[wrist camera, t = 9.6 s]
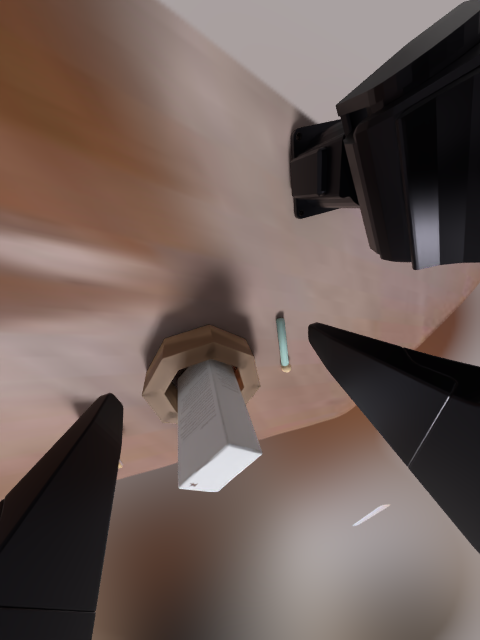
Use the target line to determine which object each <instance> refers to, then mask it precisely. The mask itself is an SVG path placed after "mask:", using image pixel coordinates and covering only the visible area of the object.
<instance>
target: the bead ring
mask: <svg viewBox="0 0 480 640" xmlns="http://www.w3.org/2000/svg"><path fill="white" fill-rule="evenodd" d="M210 359H213V360H216V361H219V362H222V363H226V364H229V365H232V366H235V367H237V369H236V370H235V372H234V373H235V376H236V379H237V382H238V385H239V388H240V391H241V393H242V396H243V399H244V402H245V405H246V404H247V403H248V401H249V400H250V399H251V397H252V396H253V395H254V394H255V392H256V391H257V390H258V389H259V387H260V382H259V377H258V373H257V368H256V364H255V359H254V356H253V354H252V352H251V350H250V348H249V346H248V344H247V342H246V340H245V339H244V338H241V337H239V336H237V335H234V334H232V333H229V332H227V331H224V330H222V329H219V328H217V327H214V326H212V325H206V326H203V327H200V328H196V329H193V330H190V331H187V332H184V333H181V334H178V335H175V336H171V337H168V338H165V339H164V341H163V343H162V344H161V346H160V348H159V350H158V352H157V354H156V356H155V357H154V359H153V361H152V363H151V365H150V367H149V369H148V370H147V372H146V377H145V382H144V387H143V393H142V396H143V397H144V399H145V400H146V401H147V403H148V404H149V405H150V407H151V408H152V409H153V411H154V412H155V413H156V415H157V416H158V417H159V419H160V420H161V421H162V422H163V423H171V424H178V389H176V387H175V386H174V384H173V382H172V380H173V378H174V376H175V375H176V373H177V371H178V370H180V369H183V368H186V367H189V366H192V365H195V364H198V363H201V362H204V361H207V360H210Z"/></svg>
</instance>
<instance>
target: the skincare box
mask: <svg viewBox="0 0 480 640" xmlns="http://www.w3.org/2000/svg"><path fill="white" fill-rule="evenodd" d="M261 455H262V450H261V448H260V445H259V442H258V439H257V436H256V433H255V430H254V428H253V425H252V422H251V419H250V416H249V413H248V411H247V408H246V405H245V402H244V399H243V396H242V393H241V391H240V388H239V385H238V382H237V379H236V376H235V373H234V371H233V368H232V365H229V364H226V363H222V362H219V361H216V360H213V359H210V360H207V361H204V362H201V363H198V364H195V365H192V366H189V367H188V368H187V369H186V370H185V371H184V372H183V374H182V375H181V376H180V377H179V378H178V487H179V488H180V489H188V490H199V491H208V492H218V491H219V490H220V489H221V488H223V487H224V486H225V485H226V484H227V483H228V482H229V481H231V480H232V479H233V478H234V477H235V476H236V475H237V474H239V473H240V472H241V471H242V470H244V469H245V468H246V467H247V466H249V465H250V464H251V463H252V462H253V461H254V460H255V459H257V458H258V457H259V456H261Z"/></svg>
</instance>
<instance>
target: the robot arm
mask: <svg viewBox="0 0 480 640" xmlns="http://www.w3.org/2000/svg"><path fill="white" fill-rule="evenodd" d="M336 109H337V113H338V116H340V117H341V119H340V120H335V121H330V122H325V123H321V124H316V125H311V126H307V127H302V128H298V129H296V130H295V131H294V132H293V133H292V135H291V151H292V161H291V163H290V166H291V185H292V196H293V197H294V213H295V217H296V218H298V219H302V218H306V217H310V216H313V215H317V214H321V213H324V212H328V211H332V210H335V209H339V208H360V210H361V214H362V218H363V222H364V226H365V230H366V234H367V238H368V242H369V246H370V248H371V249H372V250H373V251H375V252H376V253H377V254H380V258H381V259H384V260H388V261H393V262H412V268H413V269H414V270H419V269H424V268H428V267H433V266H437V265H444V264H454V263H476V262H480V0H469V1H466V2H463V3H461V4H460V5H458V6H457V7H456V8H454V9H453V10H452V11H451V12H449V13H448V14H446V15H445V16H444V17H442V18H441V19H440V20H438V21H437V22H436V23H434V24H433V25H432V26H431V27H429V28H428V29H426V30H425V31H424V32H422V33H421V34H420V35H418V36H417V37H416V38H415V39H413V40H412V41H410V42H409V43H408V44H407V45H405V46H404V47H403V48H402V49H401V50H400V51H399V52H397V53H396V54H395V55H394V56H393V57H391V58H390V59H389V60H388V61H387V62H385V63H384V64H383V65H382V66H381V67H380V68H379V69H377V70H376V71H375V72H374V73H373V74H372V75H370V76H369V77H368V78H367V79H366V80H365V81H363V82H362V83H361V84H360V85H359V86H358V87H356V88H355V89H354V90H353V91H352V92H351V93H349V94H348V95H347V96H346V97H345V98H344V99H342V100H341V101H340V102H339V103H338V104H337V105H336ZM297 134H298V135H299V141H298V140H297V139H296V135H297ZM300 210H301V211H302V213H301V215H299V211H300ZM308 338H309V342H310V344H311V346H312V347H313V349H314V350H315V352H316V353H317V355H318V356H319V358H320V359H321V361H322V362H323V364H324V365H325V367H326V368H327V370H328V371H329V372H330V373H331V375H332V376H333V377H334V378H335V379H336V381H337V382H338V383H339V384H340V386H341V387H342V388H343V389H344V390H345V392H346V393H347V394H348V395H349V396H350V398H351V399H352V400H353V401H354V403H355V404H356V405H357V406H358V407H359V408H360V410H361V411H362V412H363V413H364V415H365V416H366V417H367V418H368V419H369V421H370V422H371V423H372V424H373V426H374V427H375V428H376V429H377V430H378V431H379V433H380V434H381V435H382V436H383V438H384V439H385V440H386V441H387V443H388V444H389V445H390V446H391V447H392V449H393V450H394V451H395V452H396V453H397V455H398V456H399V457H400V458H401V459H402V461H403V462H404V463H405V464H406V466H408V468H409V469H410V471H411V472H412V473H413V474H414V475H415V477H416V478H417V479H418V480H419V482H420V483H421V484H422V485H423V486H424V488H425V489H426V490H427V491H428V492H429V493H430V495H431V496H432V497H433V499H434V500H435V501H436V502H437V503H438V505H439V506H440V507H441V508H442V509H443V511H444V512H445V513H446V514H447V515H448V517H449V518H450V519H451V520H452V522H453V523H454V524H455V525H456V526H457V527H458V529H459V530H460V531H461V532H462V534H463V535H464V536H465V537H466V539H467V540H468V541H469V542H470V543H471V545H472V546H473V547H474V548H475V549H476V550H477V551H478V552H479V553H480V367H479V366H474V365H470V364H466V363H462V362H457V361H453V360H449V359H445V358H441V357H437V356H432V355H429V354H426V353H422V352H418V351H415V350H411V349H408V348H402V347H401V346H397V345H394V344H390V343H387V342H384V341H380V340H377V339H373V338H370V337H366V336H363V335H359V334H356V333H353V332H349V331H346V330H342V329H339V328H335V327H332V326H328V325H325V324H322V323H318V322H316V323H313V324H310V325H309V326H308ZM122 429H123V405H122V404H121V402H120V401H119V400H118V399H117V398H116V397H115V396H114V395H113V394H112V393H108V394H105V395H102V396H100V397H99V398H98V399H97V400H96V401H95V402H94V403H93V404H92V405H91V406H90V407H89V408H88V409H87V410H86V412H85V413H84V414H83V415H82V416H81V417H80V418H79V419H78V420H77V421H76V422H75V423H74V424H73V425H72V426H71V427H70V429H69V430H68V431H67V432H66V433H65V434H64V435H63V436H62V437H61V438H60V439H59V440H58V441H57V442H56V443H55V444H54V445H53V447H52V448H51V449H50V450H49V451H48V452H47V453H46V454H45V455H44V456H43V457H42V458H41V459H40V460H39V461H38V462H37V463H36V465H35V466H34V467H33V468H32V469H31V470H30V471H29V472H28V473H27V474H26V475H25V476H24V477H23V478H22V479H21V480H20V481H19V483H18V484H17V485H16V486H15V487H14V488H13V489H12V490H11V491H10V492H9V493H8V494H7V495H6V496H5V499H3V500H1V502H0V640H91V639H92V633H93V627H94V620H95V611H96V606H97V599H98V593H99V587H100V581H101V575H102V568H103V562H104V555H105V549H106V542H107V536H108V530H109V523H110V517H111V510H112V504H113V498H114V492H115V485H116V479H117V472H118V466H119V460H120V453H121V446H122Z"/></svg>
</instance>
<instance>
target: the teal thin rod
mask: <svg viewBox="0 0 480 640" xmlns="http://www.w3.org/2000/svg"><path fill="white" fill-rule="evenodd" d="M276 323H277V331H278V339H279V347H280V355H281V363H282V365H281V369H282V371H284V372H289V371H290V370H291V365H290V364H289V362H288V351H287V341H286V331H285V321H284V319H283V318H278V319H277V320H276Z"/></svg>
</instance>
